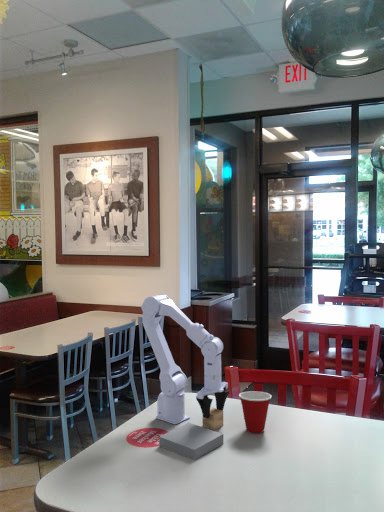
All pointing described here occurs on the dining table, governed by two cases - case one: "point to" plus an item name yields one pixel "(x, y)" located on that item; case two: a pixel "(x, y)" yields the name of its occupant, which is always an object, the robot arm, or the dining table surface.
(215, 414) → the oak cube
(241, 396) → the plastic cup
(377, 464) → the dining table surface
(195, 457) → the slate base
